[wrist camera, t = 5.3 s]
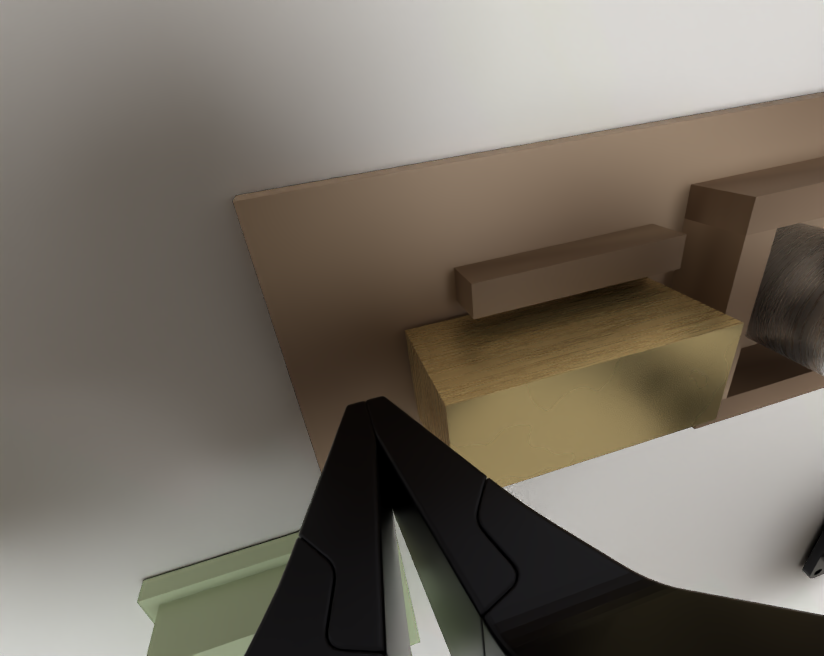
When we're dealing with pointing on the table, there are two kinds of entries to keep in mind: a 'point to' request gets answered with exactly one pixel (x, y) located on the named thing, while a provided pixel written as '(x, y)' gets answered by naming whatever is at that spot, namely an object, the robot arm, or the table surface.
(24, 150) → the table surface
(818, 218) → the socket block
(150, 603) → the tray
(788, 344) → the chrome stepped cylinder
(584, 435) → the yellow rectangular block
